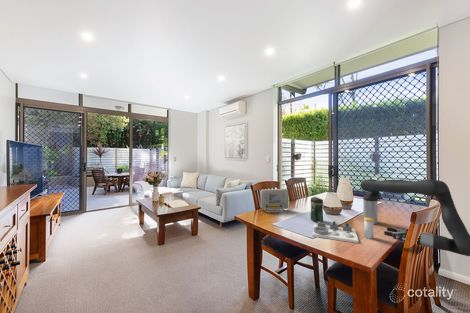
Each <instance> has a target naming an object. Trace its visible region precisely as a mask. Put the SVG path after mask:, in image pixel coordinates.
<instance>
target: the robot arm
mask: <svg viewBox="0 0 470 313" xmlns="http://www.w3.org/2000/svg"><path fill="white" fill-rule="evenodd" d="M359 184H360V185H359V186H360V188H361V189H362V190H363V191H364V192H367V193H366V194H365V195H363V197H362V198H363V211H362V212H363V222H364V218H366V217H367V218H372V219H374V225H377V224H378V223H379V209H378V208H379V206H378V204H379V202H378V200H379V198H380V192H382V193H388V194H398V195H403V194H418V195H421V196H422V195H424V196H430V197H435V198H436V199H437V202H438V203H439V205H440V209H441V211H440V212H441V213H440V214H441V219H442V222H443V224H444V226H445V227H446V230H447V231H448V233H449V235H450V236H451V238H449V237H447V236H444V235H443V236H442V235H439V234H433V233H430V232H425V231H421V232H422V233H421V234H420V236H419V238H418V241H417V245H418V246H422V247H425V248H432V249H437V250H441V251H447V252H451V253H454V254H457V255H461V256H465V257H470V233H469V231H468V229H467V228H466V225H465V222H464V221H463V220H462V218H461V217H460V215H459V212H458V210H457V207H456V205H455V203H454V199H453V196H452V194H451V191H450V188H449V186H448V184H447V183H446V182H444V181H443V180H437V179H423V180H406V179H385V180H377V179H374V178H373V179H372V178H371V179H370V178H369V179H364V180H362V181H360V183H359ZM408 230H409V229H406V228H400V227H396V228H393V227H389V226H388V227H386V230H385V231H384V233H383V234H384V236H388V237H392V239H393V240H398V241H403V242H406V241H405V239H406V235H407V231H408Z"/></svg>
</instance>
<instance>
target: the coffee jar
mask: <svg viewBox="0 0 470 313" xmlns="http://www.w3.org/2000/svg"><path fill="white" fill-rule="evenodd" d="M323 200H324V199H323V198H319V197H316V196H314V197H313V196H312V197H310V220H311V221H313V222H314V223H318V221H320V219H323V220H324V212H323V211H324V210H323V209H324V207H323V206H324V201H323Z"/></svg>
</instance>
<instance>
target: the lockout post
mask: <svg viewBox="0 0 470 313" xmlns="http://www.w3.org/2000/svg"><path fill="white" fill-rule="evenodd" d="M363 223H364V224H363V237H364V238H365V239H368V240H374V239H375V238H374V237H375V235H374V233H375V232H374V225H375V224H374V219H372V218H367V217H366V218H364V221H363Z"/></svg>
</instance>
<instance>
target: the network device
mask: <svg viewBox="0 0 470 313" xmlns="http://www.w3.org/2000/svg"><path fill="white" fill-rule="evenodd" d="M260 208H261V210H264V212H265V213H284V212H285V211H286V210H288V208H289V190H288V189H286V188H272V189H271V188H270V189H269V188H267V189H261V190H260ZM276 209H278V210H276Z"/></svg>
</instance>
